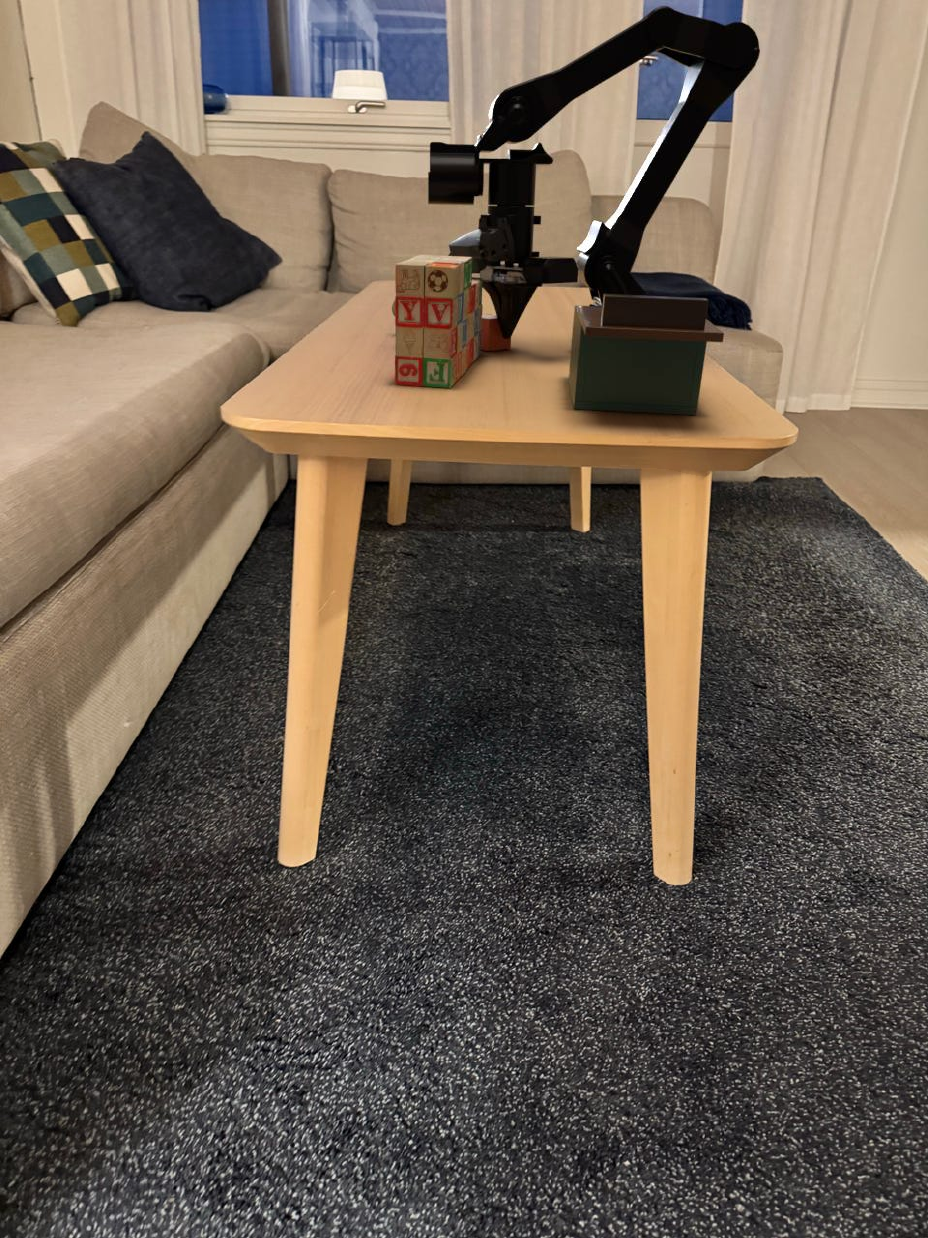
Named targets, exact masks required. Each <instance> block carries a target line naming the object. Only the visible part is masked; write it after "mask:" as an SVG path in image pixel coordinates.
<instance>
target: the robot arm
mask: <svg viewBox="0 0 928 1238" xmlns="http://www.w3.org/2000/svg"><path fill="white" fill-rule="evenodd" d="M653 53H658V54H660V55H663V56H665V57H666V58H668V59H670V60H672V61H674V62H675V63H678V64H680V65H682V66H685V67H687V68H688V71H687V73H686V76H685V79H684V82H683V85H682V86H683V87H682V90H681V93H680V98H679V100H678V103H677V105H676V106H675V108H674V110H673V112H672V113H671V115H670V117H669V118H668V121H666V124H665V126H663V129H662V131H661V133H660V135H659V136H658V138H657V140H656V141H655V143H654V146H653V147H652V148H651V150H650V152H649V154H648V155H647V157H646V159H645V161H644V162H643V164H642V166H641V167H640V170H639V171H638V173H637V174H636V176H635V178H634V179H633V181H632V183H631V185H630V187H629V188H628V190H627V192H626V194H625V195H624V198H623V199H622V201H621V202H620V204H619V205H618V206H619V207H618V208H617V209H616V211H615V212H614V214H613V215H612V216H611V217H610V218H609V219H608V220H607V221H606V222H605V223H604V221H599V220H593V221H592V224H591V225H590V227H589V229H588V233H587V235H586V237H585V239H584V241H583V242H582V243H581V244H580V245H579V246H578V247H576V251H577V252H579V255H578V258H577V260H576V259H575V258H574V257H569V256H566V257H565V256H540V251H536V250H535V251H534V230H535V228H534V227H535V225H536V226H537V225H538V226H539V225H540V226H541V225H542V215H535V209H536V208H535V204H536V183H537V182H536V181H537V180H536V179H537V166H550V165H552V164H553V163H554V158H553V157H552V156H551V155H550V154H549V153H548V152H547V151H546V150H545V148H544V146H543V144H542V142H538V143H536V144H535V145H534V147H533V148H532V149H519V148H518V149H516V148H514V149H513V148H509V149H508V150H507V153H506V158H488V157H487V158H485V157H484V158H483V157H480V154H481V153H482V154H483V153H487V154H489V153H493V152H495V151H497V150H498V149H500V148H501V147H502V146H503V145H505V144H508V145H516V144H520V143H522V142H525V141H527V140H529V139H530V138H532V137H533V136H534V135H535V134H536V133H537V132H539V131H540V130H541V129H542V128H543V127H544V126H546V125H547V124H548V123H549V122H550V121H551V120H552V119H553V118H554V117H556V116H557V115H558V114H559V113H560V112H561V111H562V110H564V109H565V108H566V107H567V106H568V105H569V104H570V103H571V102H573V101H574V100H576V99H578V98H579V97H581V96H583V95H585V93H588V92H589V91H591V90H592V89H594V88H596V87H597V86H599V85H601V84H603V83H604V82H606V81H607V80H609V79H611V78H612V77H614V76H616V75H617V74H619V73H621V72H622V71H624V70H626V69H627V68H629V67H631V66H633V65H634V64H636V63H638V62H639V61H641V60H643V59H645V58H646V57H648V56H649V55H651V54H653ZM760 53H761V49H760V42H759V38H758V36H757V33H756V31H755V30H754V29H753V28H752V27H751V26H750V24H747V23H745V22H743V21H732V22H730V23H726V24H722V23H720V22H717V21H715V20H712V19H708V18H703V17H700V16H696V15H691V14H687V13H683V12H680V11H678V10H675V9H674V8H673V7H670V6H668V5H660V6H657V7H654V9H652V10H651V11H650V12H648V13H647V14H645V15H644V16H643V18H642V19H640V20H638V21H636V22H635V23H633V24H632V25H630V26H628V27H627V28H625V29H623V30H622V31H621V32H618V33H617V34H615V35H613V36H612V37H610V38H609V39H607V40H605V41H604V42H602V43H600V44H599V45H597V46H595V47H594V48H592V49H591V50H589V51H587V52H586V53H584V54H582V55H580V56H579V57H577V58H576V59H574V60H573V61H570V62H569V63H567V64H566V65H564V66H563V67H561V68H559V69H556V70H554V71H551V72H549V73H545V74H542V75H539V76H536V77H533V78H530V79H528V80H526V81H522V82H520V83H517V84H514V85H512V86H508V87H507V88H505V89H504V90H502V91H501V93H499V94H498V95H497V96H496V98H495V99H494V100H493V102H492V103H491V106H490V109H489V113H488V122H489V124H488V125H487V126H486V128H485V129H484V131H483V132H482V134H481V135H478V136H476V142H475V144H470V143H469V144H468V143H467V144H461V143H445V142H443V141H442V142H441V141H431V142H430V143H429V171H427V204H428V205H445V206H474V203H475V197H478V198H479V197H483V196H484V185H485V184H484V183H485V165H488V189H487V191H488V192H487V195H488V196H487V214H480V217H479V218H478V227H477V229H475V230H472V231H470V232H468V233H466V234H463V235H462V236H460V237H458V238H456V239H455V240H452V241H450V242H449V243H448V249H449V253H448V255H447V256H459V257H472V275H473V274H479V278H483V283H482V285H483V286H482V289H483V290H484V291H485V292H486V293H487V294H488V296H489V297H490V300H491V302H492V305H493V308H494V311H495V312H494V313H495V315H497V319H498V322H499V326H500V329H501V333H502V336H503V338H504V339H510V338H511V339H512V336H513V334H514V332H515V331H516V328H517V326H518V324H519V322H520V320H521V318H522V316H523V314H524V312H525V309H526V308H527V306H528V304H529V303H530V301H531V299H532V298H533V296H534V294H535V292H536V291H537V288H542V287H543V285H553V284H554V285H555V284H571V283H578V281H579V280H580V282H581V283H582V284H583V285H584V286H586V287H587V289H588V291H589V295H590V299H591V301H593V302H592V303H589V305H588V306H599V307H603V297H604V294H619V295H642V296H646V291H645V290H644V288H643V287H642V286H641V285H640V284H639V282H638V281H637V280H636V279H635V277H633V275H632V274H631V273H632V271H633V268H634V265H635V263H636V260H637V258H638V254H639V251H640V247H641V244H642V241H643V240H642V239H643V237H644V233H645V230H646V228H647V226H648V225H649V223H650V221H651V219H652V218H653V216H654V214H655V212H656V211H657V209H658V207H659V206H660V205H661V202H662V200H664V197H665V195H666V194H667V192H668V190H669V188H671V185H672V183H673V182H674V180H675V178H676V177H677V175H678V174H679V172H680V170H681V169H682V167H683V165H684V163H685V161H686V160H687V158H688V156H689V155H690V153H691V151H692V150H693V148H694V146H695V144H696V143H697V141H698V140H699V138H700V136H701V134H702V132H703V131H704V129H705V127H706V126H707V124H708V122H709V120H710V119H711V117H712V116H713V115H714V114H715V113H716V112H717V111H718V110H719V109H720V108H721V107H722V106H723V105H724V104H725V103H726V101H727V100H729V98H730V97H731V96H732V95H733V94H734V93H735V92H736V91H737V90H738V88H739V87H740V86H741V84H742V83H743V82H744V81H745V80H746V78H747V77H748V76H749V75H750V74H751V72H752V71H753V69H754V68H755V67H756V65H757V62H758V60H759V58H760V55H761V54H760ZM502 262H504V263H502Z"/></svg>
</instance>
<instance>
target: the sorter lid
mask: <svg viewBox="0 0 928 1238" xmlns="http://www.w3.org/2000/svg"><path fill="white" fill-rule="evenodd" d="M577 306H578V316H579V319H580V322H581V325H582V328H583V331H584V334H585V336H596V337H617V338H639V339H661V340H683V341H704V342H707V343H723V342H724V336H725V333H724V332H723V331H722V330H721V329H720V328H719V327H717V326H716V325H715V324H714V323H712V322H711V321H710V320H708V319H707V315H708V308H709V299H708V298H705V297H688V296H687V297H684V296H661V295H645V296H642V295H619V294H604V297H603V307H599V306H589V305H577Z"/></svg>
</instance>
